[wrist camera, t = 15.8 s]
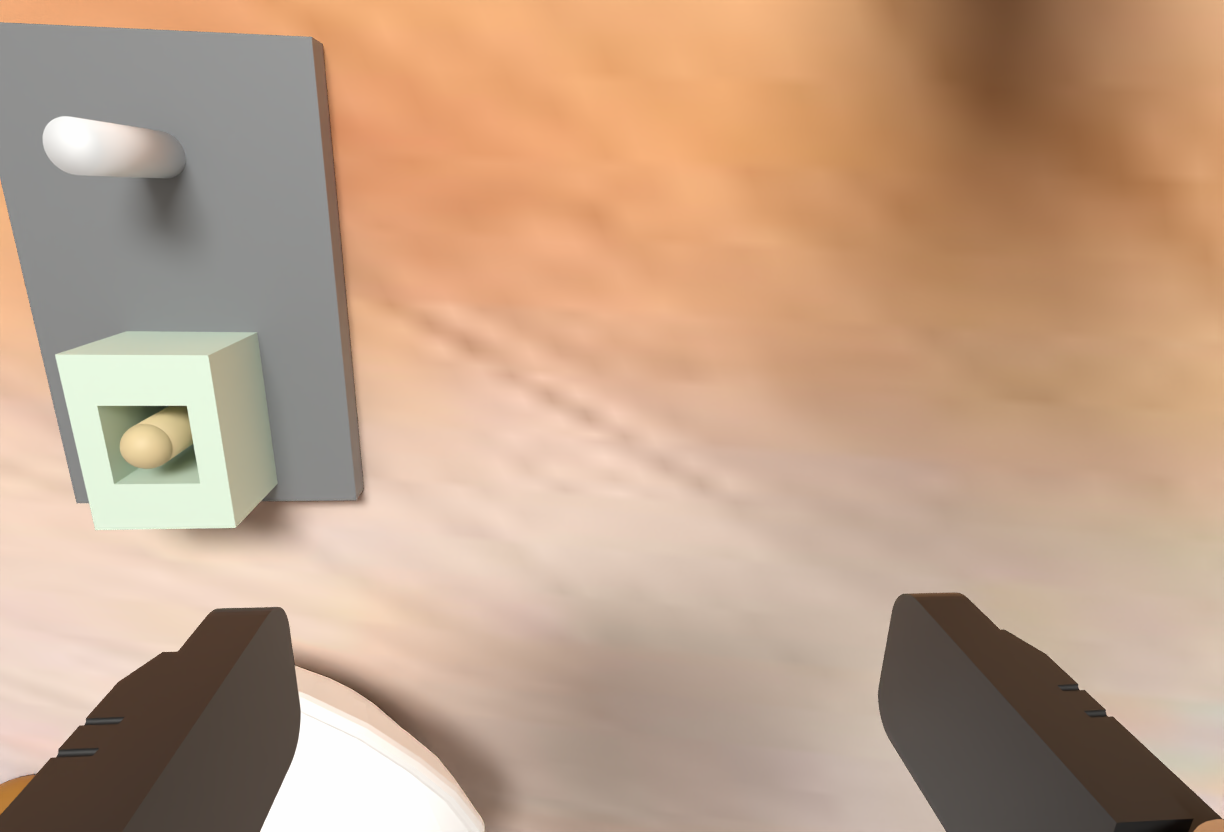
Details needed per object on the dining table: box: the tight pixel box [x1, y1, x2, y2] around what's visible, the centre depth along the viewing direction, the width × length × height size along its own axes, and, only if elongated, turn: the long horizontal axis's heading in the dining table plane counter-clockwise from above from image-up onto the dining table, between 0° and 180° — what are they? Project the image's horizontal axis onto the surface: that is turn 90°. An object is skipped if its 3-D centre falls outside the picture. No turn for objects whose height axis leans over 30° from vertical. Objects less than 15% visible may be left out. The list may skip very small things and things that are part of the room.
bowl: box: [260, 666, 485, 832], centre depth 39 cm, size 21×21×9 cm
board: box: [0, 22, 364, 503], centre depth 30 cm, size 22×14×8 cm, turn 179°
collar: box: [55, 331, 278, 530], centre depth 32 cm, size 8×6×5 cm
